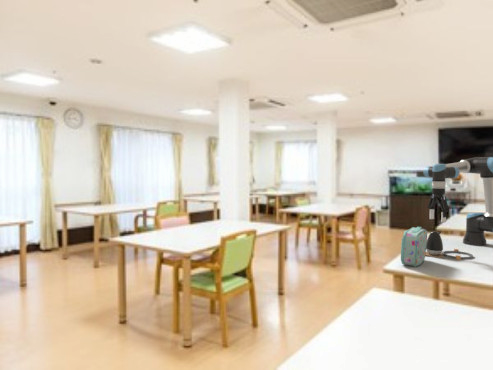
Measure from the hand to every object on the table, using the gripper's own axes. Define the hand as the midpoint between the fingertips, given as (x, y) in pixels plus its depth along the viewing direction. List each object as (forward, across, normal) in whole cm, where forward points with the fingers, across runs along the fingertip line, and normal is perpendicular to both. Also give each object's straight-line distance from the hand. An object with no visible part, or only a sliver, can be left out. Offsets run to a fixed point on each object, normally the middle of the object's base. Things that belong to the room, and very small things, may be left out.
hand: (437, 220), depth 254 cm
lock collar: (+23, +2, +13) cm, 26 cm away
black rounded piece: (+22, 0, -2) cm, 22 cm away
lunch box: (+23, +17, -25) cm, 38 cm away
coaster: (+23, 0, -2) cm, 23 cm away
